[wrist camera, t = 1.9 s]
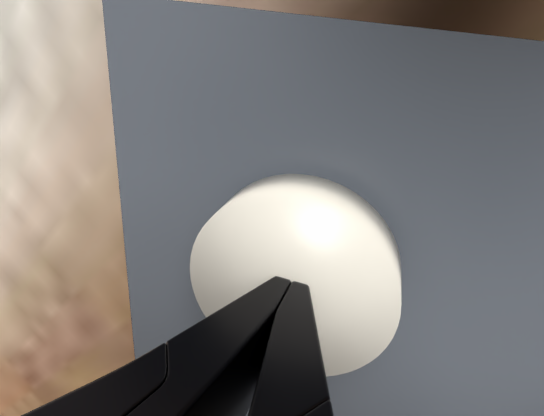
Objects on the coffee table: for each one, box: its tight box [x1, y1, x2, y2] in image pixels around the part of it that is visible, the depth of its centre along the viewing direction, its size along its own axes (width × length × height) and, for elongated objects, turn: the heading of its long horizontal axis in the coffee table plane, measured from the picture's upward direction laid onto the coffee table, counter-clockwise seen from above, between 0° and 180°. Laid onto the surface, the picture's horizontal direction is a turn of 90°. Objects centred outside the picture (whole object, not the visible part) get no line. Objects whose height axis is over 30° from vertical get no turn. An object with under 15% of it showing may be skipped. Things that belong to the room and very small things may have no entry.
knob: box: [190, 174, 401, 377], centre depth 11 cm, size 5×5×4 cm
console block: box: [102, 0, 544, 416], centre depth 13 cm, size 24×18×5 cm
